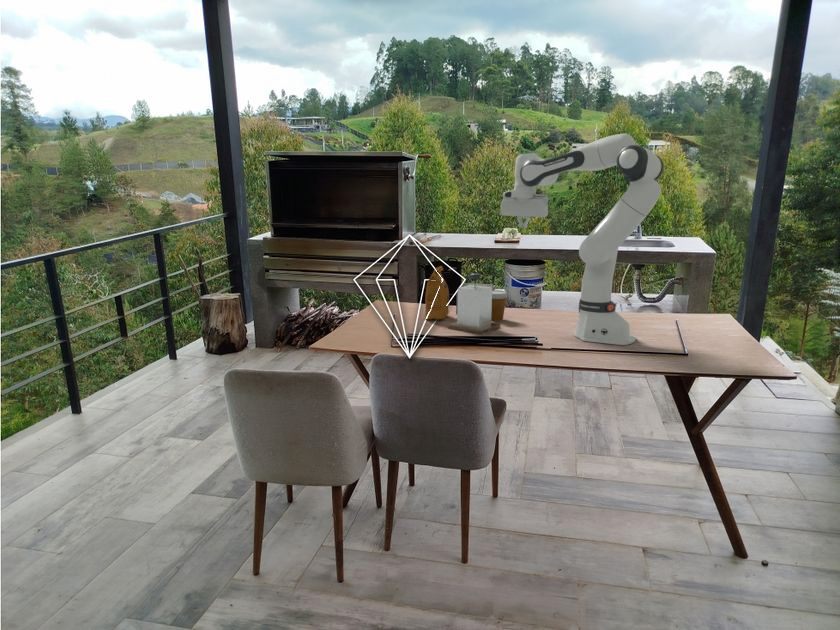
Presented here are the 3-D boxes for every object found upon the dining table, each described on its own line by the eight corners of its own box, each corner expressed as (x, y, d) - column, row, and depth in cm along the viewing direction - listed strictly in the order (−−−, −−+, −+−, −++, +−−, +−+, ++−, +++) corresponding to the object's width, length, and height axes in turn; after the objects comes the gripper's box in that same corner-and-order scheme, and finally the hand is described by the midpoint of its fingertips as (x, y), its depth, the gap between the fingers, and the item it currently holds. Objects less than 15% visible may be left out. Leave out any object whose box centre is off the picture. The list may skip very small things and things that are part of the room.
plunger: (487, 318, 244) (488, 273, 240) (477, 322, 238) (478, 276, 234) (471, 316, 249) (472, 272, 245) (461, 319, 243) (462, 274, 239)
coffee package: (452, 315, 266) (452, 266, 261) (444, 321, 254) (444, 270, 249) (430, 314, 269) (431, 265, 264) (421, 320, 257) (422, 269, 252)
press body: (499, 327, 245) (501, 287, 242) (482, 334, 234) (483, 292, 231) (465, 321, 254) (466, 283, 251) (447, 328, 243) (448, 287, 240)
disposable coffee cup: (495, 316, 265) (495, 289, 262) (511, 319, 258) (512, 292, 255) (479, 319, 259) (480, 291, 257) (495, 323, 252) (496, 294, 249)
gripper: (551, 193, 245) (549, 228, 248) (506, 193, 256) (505, 225, 259) (545, 194, 240) (543, 229, 243) (499, 193, 251) (498, 226, 254)
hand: (523, 227), depth 251 cm, fingers closed
